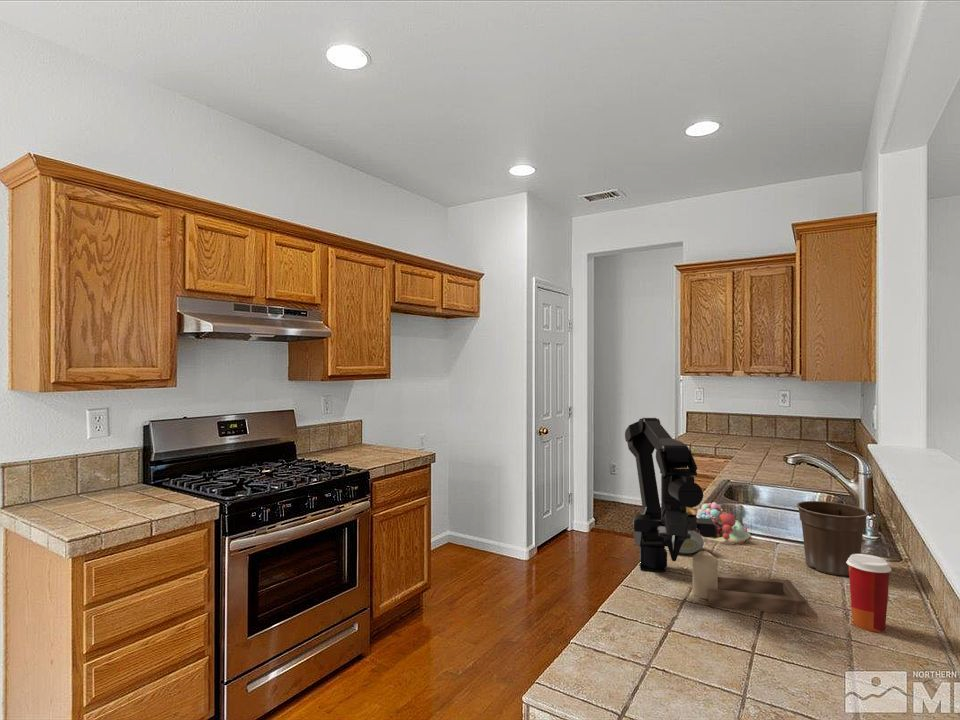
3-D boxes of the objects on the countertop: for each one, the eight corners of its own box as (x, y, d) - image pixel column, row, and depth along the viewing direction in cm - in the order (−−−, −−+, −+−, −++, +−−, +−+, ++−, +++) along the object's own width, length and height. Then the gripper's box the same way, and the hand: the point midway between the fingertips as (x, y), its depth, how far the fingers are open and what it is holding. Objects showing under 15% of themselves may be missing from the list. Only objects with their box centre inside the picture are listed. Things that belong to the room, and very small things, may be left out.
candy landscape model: (658, 533, 177) (658, 504, 177) (681, 516, 196) (681, 490, 195) (742, 549, 162) (742, 518, 162) (757, 529, 180) (757, 501, 180)
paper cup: (883, 620, 117) (883, 555, 117) (897, 637, 110) (897, 568, 110) (841, 614, 119) (841, 551, 119) (852, 631, 112) (852, 563, 112)
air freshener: (701, 547, 162) (701, 513, 162) (705, 557, 154) (705, 522, 154) (662, 544, 165) (662, 511, 165) (665, 554, 157) (665, 519, 157)
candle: (719, 600, 126) (719, 557, 126) (694, 598, 127) (694, 556, 127) (714, 590, 132) (714, 549, 132) (690, 589, 133) (690, 548, 133)
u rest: (709, 605, 124) (709, 592, 124) (700, 584, 135) (700, 572, 135) (806, 615, 119) (806, 601, 119) (789, 592, 131) (789, 580, 131)
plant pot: (792, 553, 157) (792, 497, 157) (858, 561, 151) (858, 503, 151) (802, 574, 142) (802, 512, 142) (876, 583, 136) (876, 519, 136)
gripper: (634, 502, 126) (634, 569, 126) (721, 507, 121) (721, 577, 121) (633, 491, 136) (633, 553, 137) (712, 495, 132) (712, 559, 132)
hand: (673, 560), depth 131 cm, fingers closed
